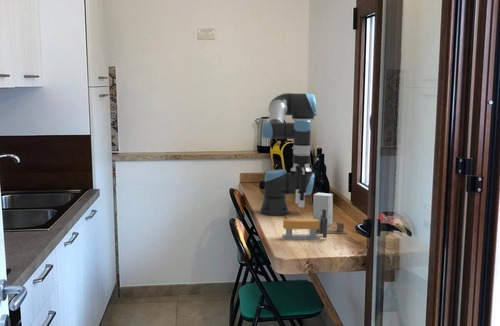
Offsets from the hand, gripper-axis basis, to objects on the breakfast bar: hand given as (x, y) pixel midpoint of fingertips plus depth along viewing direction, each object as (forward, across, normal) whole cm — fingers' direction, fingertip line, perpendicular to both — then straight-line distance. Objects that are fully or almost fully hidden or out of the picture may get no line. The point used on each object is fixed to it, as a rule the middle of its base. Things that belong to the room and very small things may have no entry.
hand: (299, 205), depth 232 cm
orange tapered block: (+10, 0, +1) cm, 11 cm away
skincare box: (+15, -23, +16) cm, 32 cm away
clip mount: (+15, 0, +1) cm, 15 cm away
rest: (+15, -9, +16) cm, 24 cm away
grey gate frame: (+15, 0, +11) cm, 19 cm away
